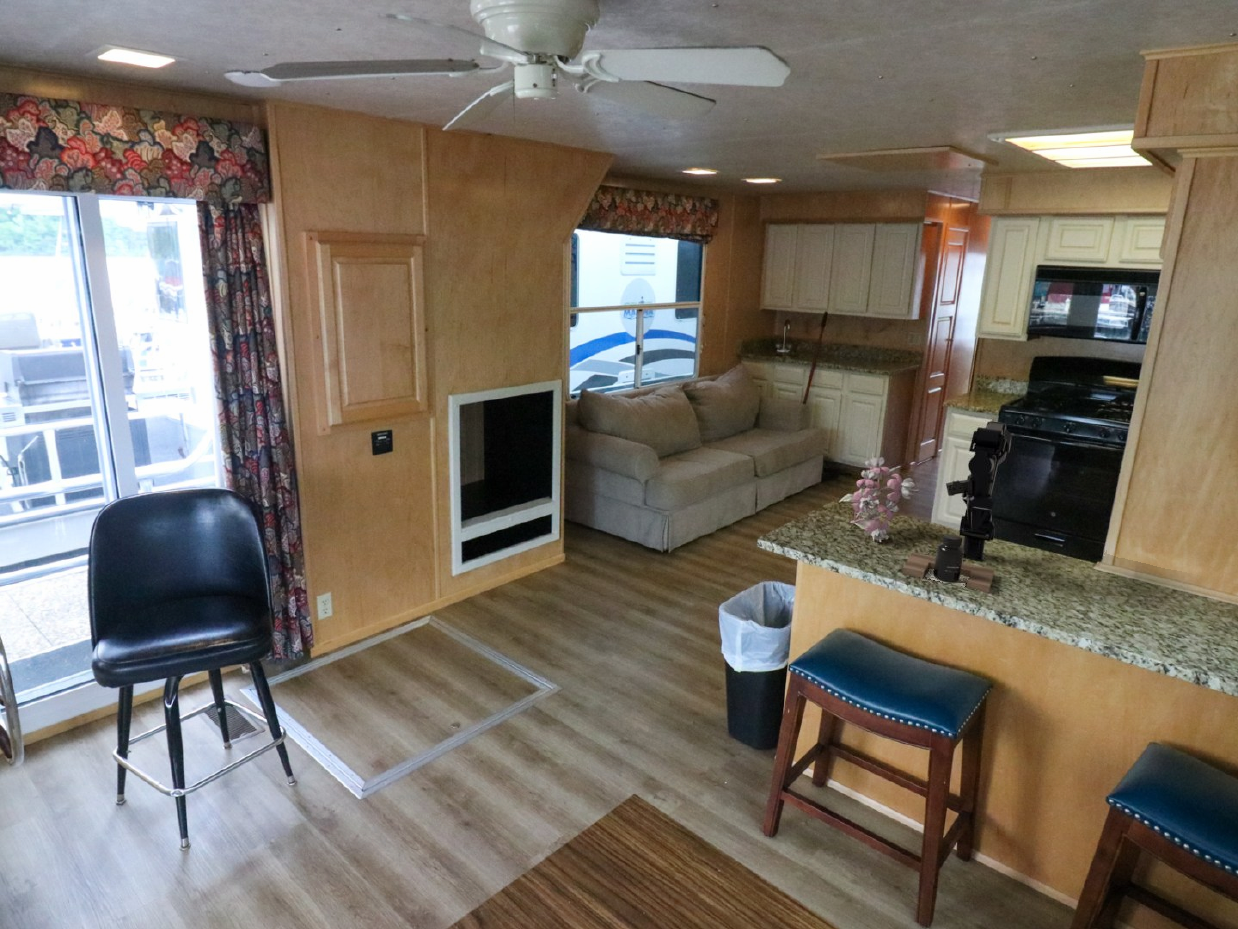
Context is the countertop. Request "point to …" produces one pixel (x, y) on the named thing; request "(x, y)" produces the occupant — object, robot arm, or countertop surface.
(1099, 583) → the countertop surface
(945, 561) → the supplement bottle
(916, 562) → the notched shelf board
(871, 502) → the flower
